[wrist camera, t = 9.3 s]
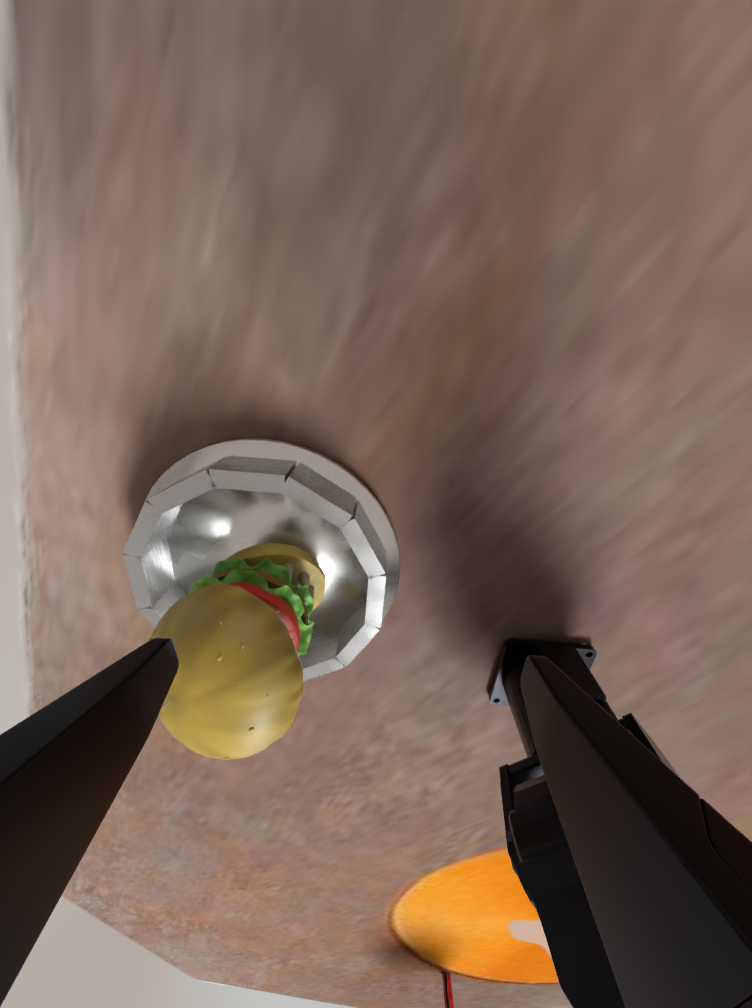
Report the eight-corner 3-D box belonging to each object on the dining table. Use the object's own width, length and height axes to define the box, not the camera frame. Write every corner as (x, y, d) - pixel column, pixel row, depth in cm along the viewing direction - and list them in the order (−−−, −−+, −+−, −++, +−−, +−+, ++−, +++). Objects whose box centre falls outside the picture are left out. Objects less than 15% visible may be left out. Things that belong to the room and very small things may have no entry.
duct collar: (387, 664, 27) (387, 701, 24) (168, 647, 27) (141, 682, 24) (413, 450, 20) (418, 466, 17) (117, 426, 20) (72, 439, 17)
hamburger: (296, 630, 25) (223, 852, 14) (203, 581, 23) (38, 787, 12) (355, 555, 22) (322, 758, 11) (253, 495, 21) (100, 660, 10)
